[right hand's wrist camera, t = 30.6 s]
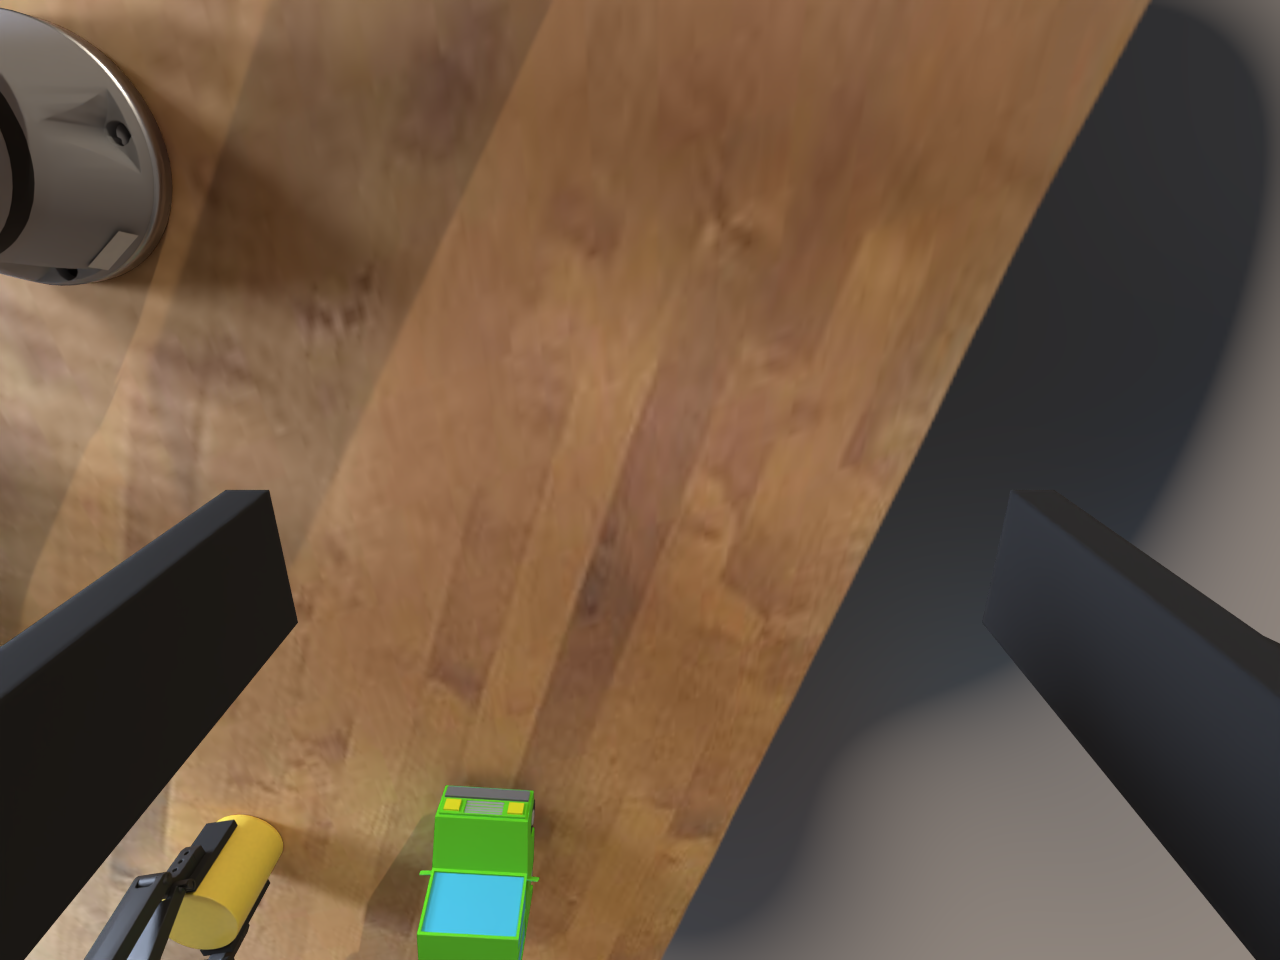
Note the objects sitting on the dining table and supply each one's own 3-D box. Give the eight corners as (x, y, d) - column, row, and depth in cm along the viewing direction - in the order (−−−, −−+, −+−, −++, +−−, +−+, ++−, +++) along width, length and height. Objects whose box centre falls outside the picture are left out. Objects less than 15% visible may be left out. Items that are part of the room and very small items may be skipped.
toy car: (549, 777, 62) (533, 877, 53) (544, 881, 67) (529, 990, 58) (435, 770, 62) (399, 870, 53) (439, 875, 67) (407, 983, 58)
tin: (239, 875, 67) (190, 958, 60) (194, 828, 65) (137, 909, 57) (297, 853, 66) (254, 936, 59) (254, 805, 64) (204, 884, 56)
